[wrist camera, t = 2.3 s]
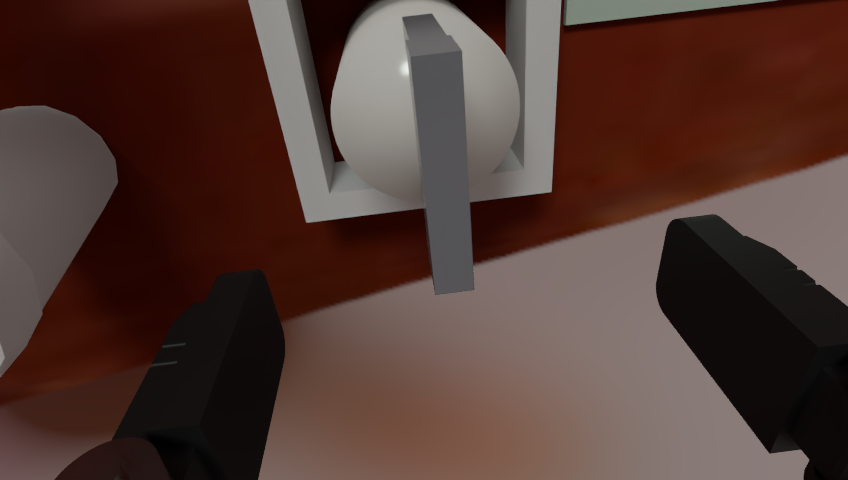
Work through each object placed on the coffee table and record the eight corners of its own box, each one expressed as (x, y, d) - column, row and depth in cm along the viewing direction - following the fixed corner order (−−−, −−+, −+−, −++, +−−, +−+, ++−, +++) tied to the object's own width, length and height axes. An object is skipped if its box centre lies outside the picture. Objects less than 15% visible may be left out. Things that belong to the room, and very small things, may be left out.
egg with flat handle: (356, 134, 28) (340, 307, 15) (331, -4, 24) (283, 71, 11) (479, 118, 28) (567, 277, 15) (474, -21, 24) (586, 35, 11)
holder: (252, -70, 22) (230, -70, 19) (537, -102, 22) (566, -108, 19) (314, 188, 29) (306, 222, 26) (531, 161, 29) (551, 192, 26)
